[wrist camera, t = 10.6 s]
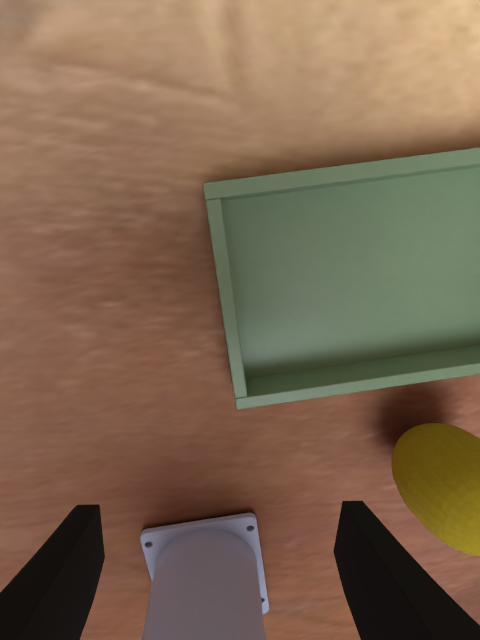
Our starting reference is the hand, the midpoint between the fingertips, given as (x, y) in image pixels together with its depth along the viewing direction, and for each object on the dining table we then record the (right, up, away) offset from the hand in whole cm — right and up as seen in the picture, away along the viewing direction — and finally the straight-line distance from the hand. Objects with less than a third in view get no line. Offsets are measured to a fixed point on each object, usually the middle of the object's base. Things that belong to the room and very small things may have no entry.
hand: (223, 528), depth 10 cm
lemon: (+12, -1, +12) cm, 17 cm away
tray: (+8, +9, +9) cm, 15 cm away
